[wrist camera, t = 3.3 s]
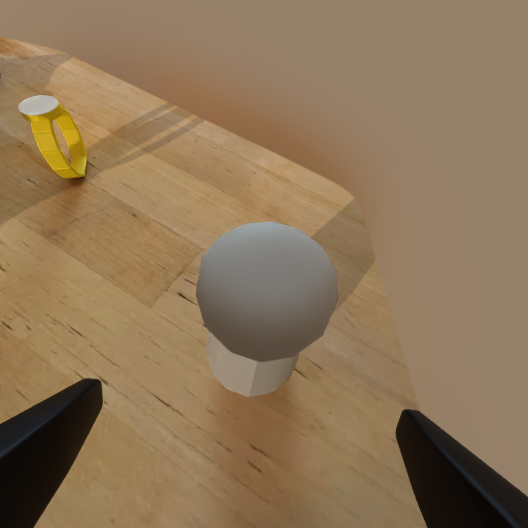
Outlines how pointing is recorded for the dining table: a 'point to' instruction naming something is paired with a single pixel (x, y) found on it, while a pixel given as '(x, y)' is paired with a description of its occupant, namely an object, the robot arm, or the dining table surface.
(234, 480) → the dining table surface
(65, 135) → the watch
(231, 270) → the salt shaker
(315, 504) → the dining table surface
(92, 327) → the dining table surface
